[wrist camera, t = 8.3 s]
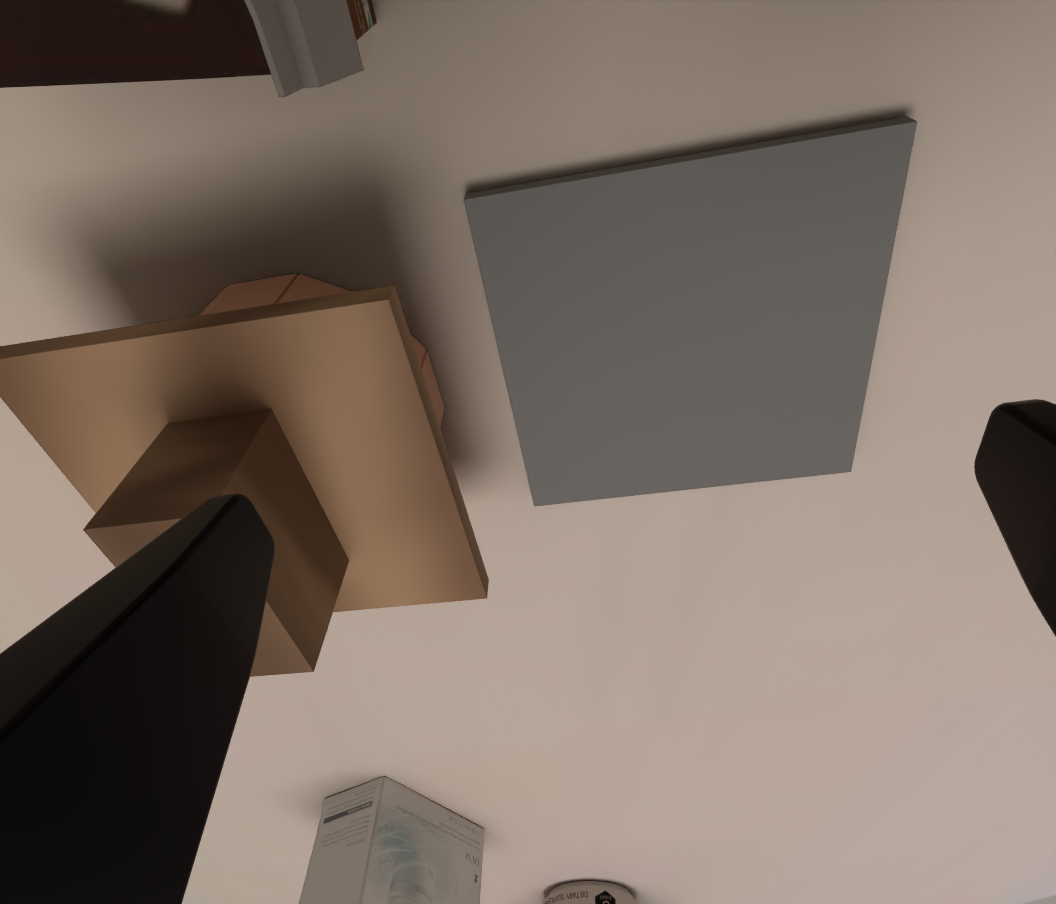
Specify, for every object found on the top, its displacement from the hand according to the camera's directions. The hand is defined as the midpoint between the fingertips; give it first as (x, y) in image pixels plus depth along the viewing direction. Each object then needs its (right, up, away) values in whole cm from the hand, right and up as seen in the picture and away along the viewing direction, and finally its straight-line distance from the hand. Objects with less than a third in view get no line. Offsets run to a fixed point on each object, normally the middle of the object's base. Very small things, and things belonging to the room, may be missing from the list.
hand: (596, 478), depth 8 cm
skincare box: (-9, -25, +38) cm, 46 cm away
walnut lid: (-9, -1, +12) cm, 14 cm away
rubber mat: (+4, +4, +13) cm, 15 cm away
